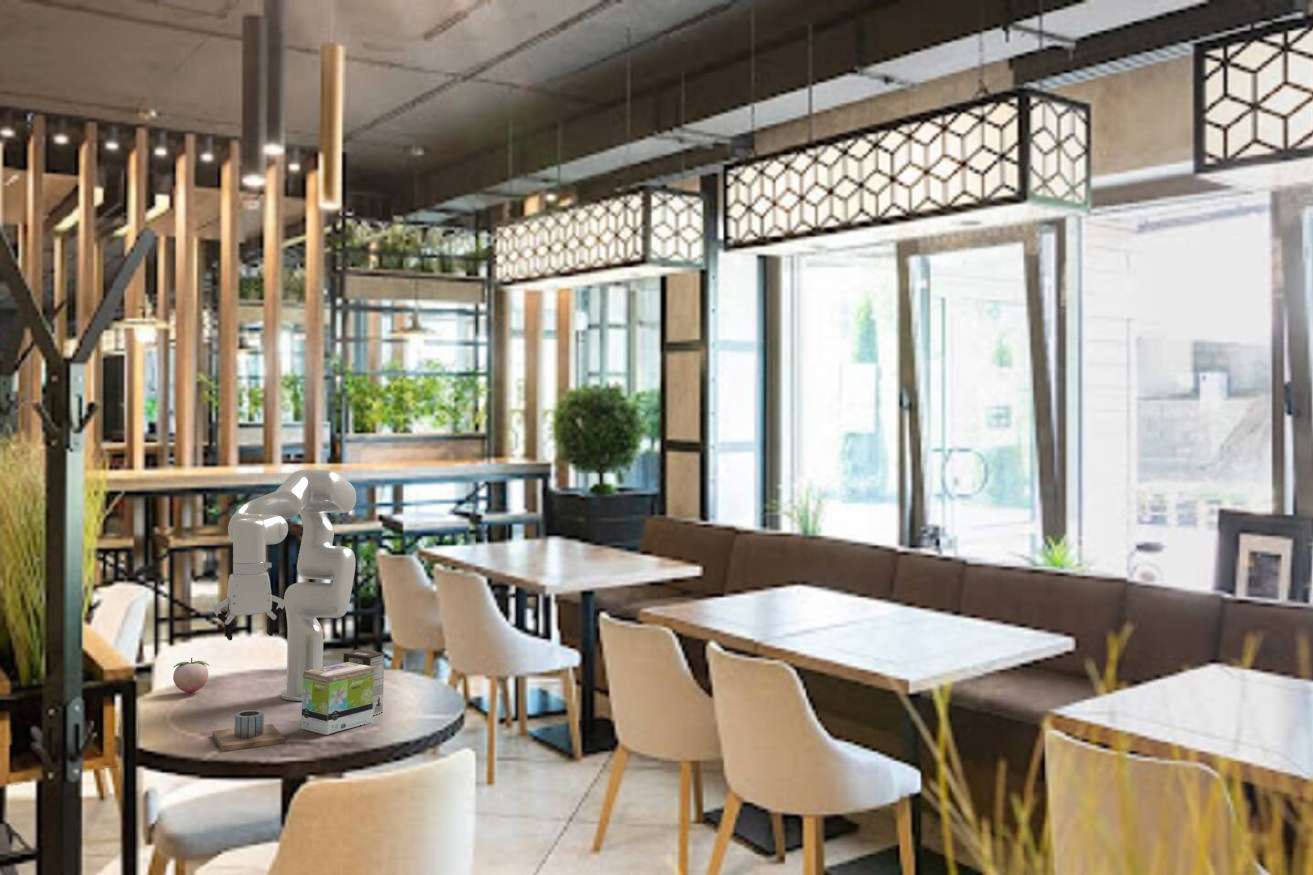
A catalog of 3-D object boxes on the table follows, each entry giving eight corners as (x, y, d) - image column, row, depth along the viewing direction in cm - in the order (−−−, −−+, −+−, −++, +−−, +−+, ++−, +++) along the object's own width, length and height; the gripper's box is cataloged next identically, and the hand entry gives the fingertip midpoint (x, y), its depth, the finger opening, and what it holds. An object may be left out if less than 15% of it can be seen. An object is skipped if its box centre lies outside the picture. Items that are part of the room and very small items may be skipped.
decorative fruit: (178, 699, 303) (178, 662, 303) (169, 693, 310) (170, 657, 310) (213, 694, 309) (214, 658, 309) (204, 688, 316) (204, 653, 315)
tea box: (328, 736, 272) (329, 676, 271) (300, 729, 277) (301, 670, 277) (374, 722, 284) (375, 665, 284) (346, 716, 290) (347, 660, 289)
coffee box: (340, 713, 292) (341, 652, 292) (357, 708, 298) (357, 648, 298) (368, 718, 288) (369, 656, 288) (384, 712, 294) (385, 652, 294)
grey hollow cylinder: (260, 729, 272) (260, 708, 272) (265, 735, 267) (265, 715, 267) (232, 732, 269) (232, 712, 269) (237, 739, 263) (237, 718, 263)
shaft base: (271, 728, 277) (272, 710, 277) (284, 743, 265) (285, 724, 265) (212, 735, 270) (212, 717, 270) (222, 751, 258) (223, 732, 258)
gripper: (281, 563, 283) (281, 630, 284) (209, 569, 273) (210, 637, 274) (289, 568, 276) (289, 636, 277) (215, 573, 267) (216, 644, 268)
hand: (249, 636), depth 276 cm, fingers open, 9 cm apart
